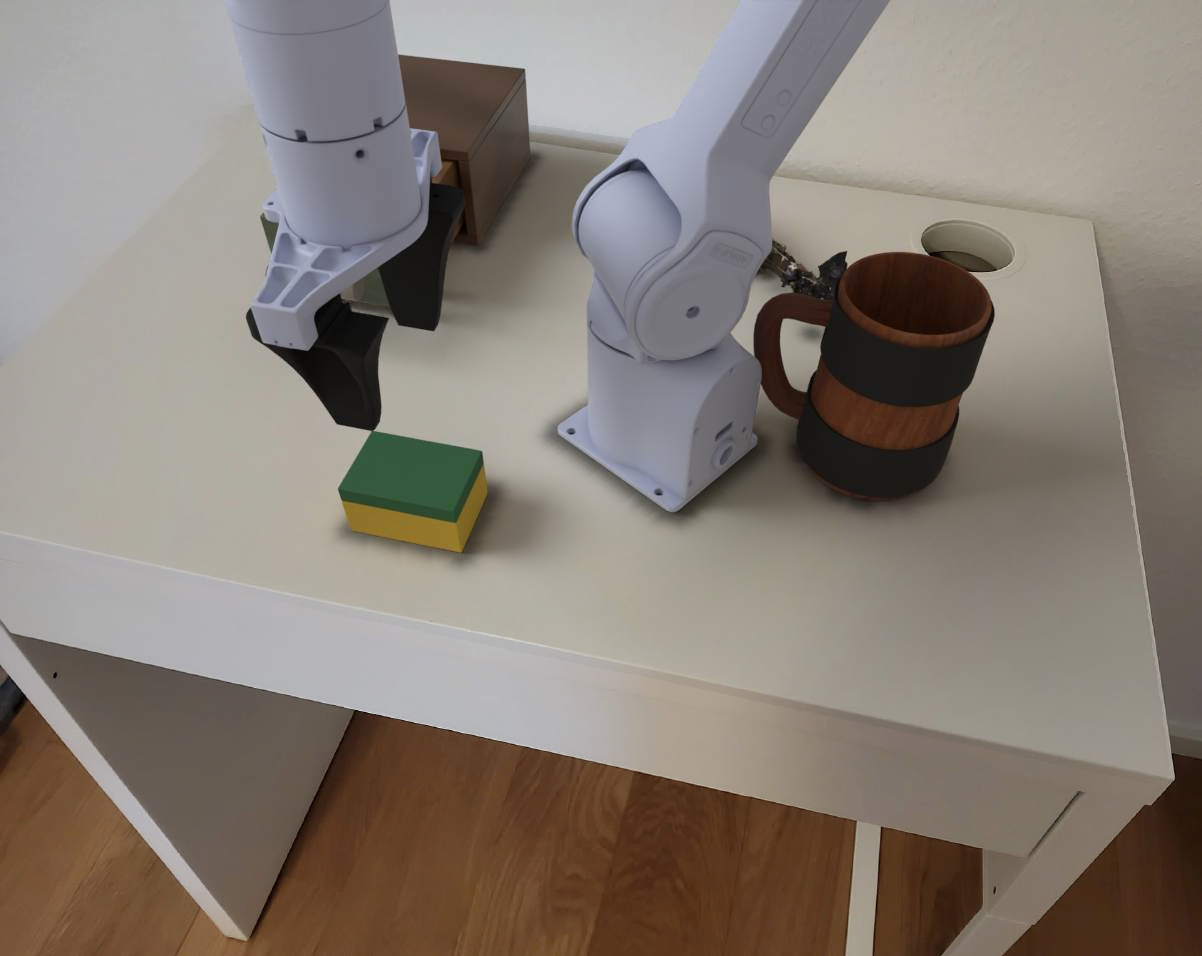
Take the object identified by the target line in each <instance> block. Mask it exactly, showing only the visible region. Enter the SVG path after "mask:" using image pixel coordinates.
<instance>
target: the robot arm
mask: <svg viewBox="0 0 1202 956" xmlns="http://www.w3.org/2000/svg"><path fill="white" fill-rule="evenodd" d="M890 1H891V0H740V2H739V3H738V5H737V6H736V9H735V10H734V12H733V14H732V16H731V17H730V19H729V20H728V22H727V24H726V25H725V28H724V29H723V31H722V33H721V34H720V36H719V38H718V39H717V41H716V43H715V44H714V47H713V48H712V50H711V52H710V53H709V55H708V57H707V58H706V60H705V62H704V63H703V65H702V67H701V68H700V70H699V72H698V74H697V75H696V77H695V79H694V81H693V83H692V84H691V86H690V88H689V89H688V91H687V93H686V95H685V96H684V98H683V99H682V101H681V103H680V105H679V107H678V108H677V110H676V111H675V113H674V115H672V116H671V117H668V118H666V119H664V120H662V121H658V122H655V123H652V124H649V125H647V126H644V127H641V128H639V129H637V130H635V131H634V132H633V133H632V134H631V136H630V138H629V140H628V142H627V143H626V145H625V147H624V149H623V150H622V151H621V153H620V154H619V155H618V156H617V158H616V159H615V160H614V161H613V162H612V163H610V165H608V166H607V167H606V168H605V169H603V170H602V171H601V172H600V173H598V174H597V175H596V176H594V177H593V178H592V179H591V180H590V181H589V182H588V183H587V184H586V186H585V187H584V189H583V190H582V191H581V192H580V194H579V196H578V198H577V200H576V202H575V205H574V207H573V212H572V217H571V231H572V236H573V239H574V242H575V245H576V246H577V247H578V249H579V251H580V252H581V253H580V254H581V255H582V256H584V257H585V258H586V259H587V260H588V261H589V263H590V264H591V266H592V284H591V288H590V291H589V294H588V297H587V302H586V354H587V355H586V356H587V357H586V358H587V359H586V361H587V364H586V365H587V404H586V405H585V406H583V407H581V408H580V409H579V410H578V411H576V412H575V413H573V414H572V415H570V416H569V417H568V418H566V419H565V420H563V421H562V422H560V423H559V424H558V425H557V434H558V435H559V436H560V437H561V438H563V439H564V440H566V441H567V442H569V443H570V444H571V445H573V446H574V447H576V448H577V449H578V450H580V451H581V452H582V453H584V454H585V455H587V456H588V457H590V458H591V459H593V460H594V461H595V462H597V463H598V464H599V465H600V466H603V467H604V468H605V469H606V470H608V471H610V472H611V473H612V474H613V475H615V476H617V477H618V478H620V479H621V480H623V481H624V482H625V483H626V484H628V485H630V486H631V487H633V488H634V489H635V490H636V491H638V493H639V492H640V494H642V495H644V496H645V497H646V498H648V499H649V500H651V501H652V502H654V503H655V504H657V505H658V506H659V507H661V508H662V509H664V510H665V511H667V512H669V513H676V512H678V511H679V510H681V509H682V508H683V507H684V506H685V505H687V504H688V503H689V502H691V501H692V500H693V499H694V498H696V496H698V495H699V494H700V493H701V492H702V491H704V490H705V489H706V488H707V487H708V486H710V485H711V484H712V483H714V481H715V480H717V479H718V478H719V477H721V475H723V474H724V473H725V472H726V471H727V470H729V469H730V468H731V467H732V466H733V465H735V464H736V463H737V462H738V461H740V459H742V458H743V457H744V456H746V455H747V454H748V453H749V452H750V451H751V450H753V449H754V448H755V447H756V446H757V444H758V441H759V440H758V439H759V437H758V435H756V433H754V432H753V431H754V425H755V421H756V420H755V419H756V412H757V408H758V401H759V395H760V389H761V378H762V369H761V364H760V362H759V361H758V360H757V359H756V358H755V357H754V354H752V353H750V352H749V351H748V350H747V349H745V347H744V346H743V345H741V343H740V342H739V341H738V340H737V339H736V338H735V337H734V336H733V335H732V333H731V332H733V330H734V329H735V328H736V326H737V325H738V324H739V322H740V321H741V319H742V317H743V316H744V313H745V312H746V309H747V307H748V304H749V299H750V295H751V290H752V285H753V282H754V280H755V278H756V275H757V274H758V271H759V269H761V268H760V266H761V265H762V263H763V262H764V260H765V259H766V257H767V256H768V255H769V253H770V252H771V250H772V238H773V227H772V214H771V213H772V212H771V196H770V183H771V180H772V178H774V176H775V174H776V172H778V169H779V168H780V166H781V165H782V164H783V162H784V160H785V159H786V157H787V156H788V154H789V153H790V151H791V150H792V148H793V147H794V145H795V144H796V142H797V141H798V139H799V138H800V136H801V135H802V133H803V132H804V131H805V129H806V127H807V126H808V124H809V123H810V121H811V120H812V119H813V117H814V115H815V114H816V113H817V111H818V110H819V108H820V107H821V105H822V104H823V102H824V101H825V100H826V97H827V96H828V94H829V93H830V92H831V90H832V89H833V87H834V86H835V84H836V82H837V81H838V80H839V78H840V77H841V75H842V73H843V72H844V71H845V69H846V68H847V66H848V65H849V63H850V62H851V60H852V59H853V58H854V55H855V54H856V52H857V51H858V50H859V48H860V47H861V45H862V44H863V42H864V41H865V39H866V37H867V36H868V35H869V33H870V31H871V30H872V29H873V28H874V26H875V24H876V22H877V21H878V20H879V18H880V17H881V16H882V14H883V12H884V11H885V9H886V8H887V7H888V5H889V3H890ZM223 2H224V5H225V8H226V13H227V15H228V18H229V22H230V25H231V29H232V32H233V33H232V34H233V36H234V40H235V43H236V47H237V50H238V54H239V57H240V60H241V61H240V62H241V64H242V69H243V72H244V75H245V79H246V83H247V86H248V89H249V93H250V96H251V100H252V104H253V109H254V111H255V114H256V118H257V121H258V124H259V128H260V132H261V135H262V139H263V142H264V146H265V149H266V154H267V156H268V160H269V164H270V168H271V171H272V174H273V178H274V181H275V186H276V189H274V191H273V192H272V193H271V194H270V195H269V196H268V197H267V198H266V200H265V201H263V202H262V205H261V207H262V211H263V212H264V214H265V217H266V219H267V220H268V221H271V222H275V223H279V226H278V230H277V234H276V238H275V242H274V246H273V251H272V255H271V254H270V259H269V262H268V264H269V267H268V271H267V275H266V278H265V277H264V278H265V279H264V280H263V284H262V285H261V288H260V289H259V291H258V293H257V294H256V296H255V297H254V298H253V300H252V301H251V302H250V303H249V309H248V310H247V311H246V312H245V314H246V315H245V320H246V323H247V327H248V329H249V332H250V335H251V337H252V338H253V339H254V340H255V341H257V342H258V343H259V344H261V345H263V347H265V348H267V349H268V350H270V351H271V352H273V353H274V354H276V355H277V356H278V357H279V358H280V359H281V360H283V361H284V362H285V363H286V364H287V365H289V366H290V367H291V368H292V369H293V370H294V371H295V372H296V373H297V374H298V375H299V376H300V377H301V379H303V381H304V382H305V383H306V384H307V386H308V387H309V388H310V389H311V391H313V393H314V394H315V396H316V398H318V400H319V401H320V402H321V404H322V405H323V407H324V408H325V410H326V411H327V413H328V414H329V415H330V417H331V418H332V420H333V421H334V423H335V424H336V425H337V426H343V427H347V428H352V429H353V428H354V429H359V430H364V431H368V432H371V431H376V429H377V427H378V426H379V424H380V422H381V417H382V408H383V407H382V396H381V395H382V394H381V386H380V378H379V363H380V362H379V358H380V351H381V346H382V345H381V344H382V340H383V335H384V333H385V330H386V327H387V324H388V322H389V320H390V317H388V316H383V315H376V314H371V313H365V312H359V311H354V310H352V309H353V308H352V305H351V303H350V301H346V302H343V299H342V298H341V294H340V293H341V292H342V291H344V290H345V289H347V288H348V287H350V286H351V285H352V284H354V283H355V282H357V281H358V280H360V279H361V278H363V277H364V276H366V275H367V274H369V273H370V272H372V271H373V270H374V269H376V268H377V267H378V270H379V273H380V276H381V280H382V283H383V286H384V290H385V293H386V297H387V300H388V303H389V306H390V307H389V306H388V307H389V309H390V312H391V313H392V315H393V317H394V320H395V322H396V323H397V325H398V326H400V327H406V328H411V329H417V330H423V331H429V332H435V331H436V329H437V328H438V327H439V323H440V320H441V313H442V307H443V297H444V288H445V287H444V286H445V278H446V269H447V263H448V257H449V253H450V248H451V245H452V243H451V241H452V238H453V234H454V231H455V228H456V226H457V223H458V220H459V218H460V216H461V214H462V211H463V209H464V207H465V197H464V193H463V191H462V190H461V189H459V188H457V187H455V186H451V185H444V184H437V183H432V178H433V177H435V176H437V174H438V173H439V172H440V170H441V169H442V163H441V156H440V148H439V141H438V133H437V132H435V131H427V130H420V129H412V128H410V126H409V120H408V113H407V107H406V101H405V96H404V89H403V83H402V77H401V70H400V64H399V58H398V54H399V53H398V45H397V39H396V33H395V27H394V19H393V13H392V7H391V0H223ZM658 494H659V495H658ZM660 494H661V495H660Z"/></svg>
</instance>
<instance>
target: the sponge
mask: <svg viewBox="0 0 1202 956" xmlns="http://www.w3.org/2000/svg"><path fill="white" fill-rule="evenodd" d="M337 492H338V494H339V497H340V500H341V504H342V507H343V510H344V514H345V516H346V519H347V523H348V526H349V529H350V531H352V532H357V533H361V534H366V535H371V536H376V537H381V538H386V539H392V540H396V541H401V542H405V543H411V544H416V545H421V546H426V547H431V548H435V549H441V550H446V551H449V552H450V551H451V552H455V553H459V554H462V552H463V551H464V548H465V546H466V544H467V541H468V539H469V538H470V537H469V536H470V534H471V532H472V530H473V528H474V526H475V524H476V521H477V518H478V516H479V514H480V512H481V510H482V508H483V505H484V503H485V501H486V498H487V496H488V495H489V491H488V483H487V476H486V469H485V461H484V453H483V450H481V449H475V448H468V447H463V446H458V445H452V444H447V443H441V442H437V441H430V440H425V439H419V438H415V437H409V436H404V435H398V434H393V433H387V432H381V431H376V430H373V431H370V433H369V435H368V436H367V438H366V440H365V441H364V444H363V445H362V447H361V448H360V450H359V452H358V454H357V455H356V457H355V458H354V460H353V462H352V464H351V465H350V467H349V469H348V470H347V472H346V474H345V476H344V477H343V479H342V480H341V482H340V484H339V485H338V487H337Z"/></svg>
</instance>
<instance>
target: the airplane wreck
mask: <svg viewBox="0 0 1202 956" xmlns="http://www.w3.org/2000/svg"><path fill="white" fill-rule="evenodd" d="M786 250H787V245H786V244H784V243H779V241H777V240H776V239H774V238H773V237H772V250H771V252H770V253H769V255H768V256H767V257H766V259H765V260H764V262H763V263H762V265H761V266H760V268H759V269H761V270H763V271H765V272H766V271H767V270H770V271H771V272H772V273H774V274H776V275H777V276H778V278H779V280H780V283H782V284H781V285H779V286H780V287H781V288H786V286H790V289H791V291H792V293H798V294H803V295H807V296H811V297H814V298H818V299H824V300H833V297H834V292H835V287H836V283H837V281H838V279H839V277H840V276H841V275H842V274H843V273H844V272H845V270H846V269H847V268H848V267H849V266H848V262H847V261H846V259H847V255H848V250H845V251H840V252H837V253H836V254H833V255H832V256H831V257H830V258H828V259H827V260H825V261H824V262H822V263H821V264H820V265H817V268H818V272H819V276H818V277H817V276H816V275H815V274H814V273H813V270H812V271H809V270H808V269H807V268H806V266H804V265H803V263H799V262H797V261H796V259H795V258H794V256H793V255H791V254H790V253H788V252H786ZM791 283H792V284H791Z"/></svg>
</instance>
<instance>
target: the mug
mask: <svg viewBox="0 0 1202 956" xmlns="http://www.w3.org/2000/svg"><path fill="white" fill-rule="evenodd" d="M995 317H996V312H995V306H994V302H993V300H992V298H991V295H990V293H989V291H988V288H986V287H985V285H984V284H983V283H982V282H981V281H980V280H979V279H978V278H977V277H976V276H975V275H974V274H972V273H971V272H970V271H968V270H967V269H965V268H963V267H962V266H959V265H957V264H955V263H954V262H951V261H949V260H946V259H943V258H940V257H937V256H933V255H929V254H924V253H918V252H913V251H911V252H909V251H887V252H878V253H876V254H875V253H874V254H871V255H870V254H869V255H867V256H865V257H862V258H860V259H857V260H856V261H854V262H852V264H850V265H849V266H847V269H846V270H845V272H844V273H843V274H842V275H841V276H840V277H839V279H838V281H837V283H836V287H835V292H834V297H833V300H824V298H821V299H818V298H814V297H811V296H807V295H803V294H798V293H793V292H786V293H783V292H782V293H779V294H777V295H775V296H772V297H771V298H770V299H768V300H767V301H766V302H764V304H763V305H762V306H761V308H760V310H759V311H758V313H757V315H756V318H755V321H754V327H753V336H752V338H753V339H752V340H753V356H754V357H755V358H756V359H757V360H758V361H759V362H760V364H761V369H762V378H761V385H760V387H761V388H762V390H763V392H764V394H765V395H766V397H767V399H768V400H769V401H770V403H771V404H772V405H773V406H774V407H775V408H776V409H777V410H778V411H779V412H781V413H783V414H785V415H786V416H787V417H791V418H793V419H795V420H798V422H797V427H796V431H795V441H796V446H797V449H798V452H799V455H800V456H801V458H802V460H803V462H804V463H805V464H806V466H807V468H808V469H809V470H810V471H811V473H812V474H813V475H814V476H815V478H816V479H818V480H819V481H820V482H821V483H823V484H824V485H825V486H826V487H829V488H830V489H831V490H833V491H835V492H837V493H840V494H842V495H844V496H847V497H850V498H854V499H857V500H860V501H861V500H862V501H867V502H868V501H869V502H889V501H896V500H899V499H903V498H906V497H908V496H910V495H913V494H915V493H918V492H920V491H922V490H923V489H926V488H927V487H928V486H929V485H931V484H932V483H933V482H934V481H935V480H936V479H937V478H938V476H939V475H940V473H941V471H942V470H943V467H944V465H945V463H946V460H947V457H948V455H949V452H950V450H951V448H952V443H953V440H954V437H955V434H956V429H957V426H958V423H959V418H960V403H961V400H962V398H963V394H964V393H965V391H967V390H968V389H969V387H970V386H971V384H972V382H973V380H974V378H975V376H976V371H977V369H978V366H979V363H980V360H981V357H982V354H983V351H984V348H985V346H986V343H987V339H988V338H989V335H990V331H991V329H992V326H993V324H994V321H995ZM787 319H788V320H793V321H794V320H795V321H798V322H801V323H804V324H805V323H806V324H809V325H814V326H820V327H824V331H823V335H822V336H821V341H820V345H819V349H820V355H819V360H818V363H817V367H816V370H815V371H814V372H813V373H812V375H811V376H810V378H809V382H808V385H807V389H806V391H802V390H799V389H796V388H795V387H794V386H793V385H792V384H791V383H790V381H789V378H788V376H787V373H786V370H785V365H784V362H783V356H782V350H781V349H782V348H781V333H782V332H781V331H782V326H783V325H782V324H783V321H784V320H787Z"/></svg>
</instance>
